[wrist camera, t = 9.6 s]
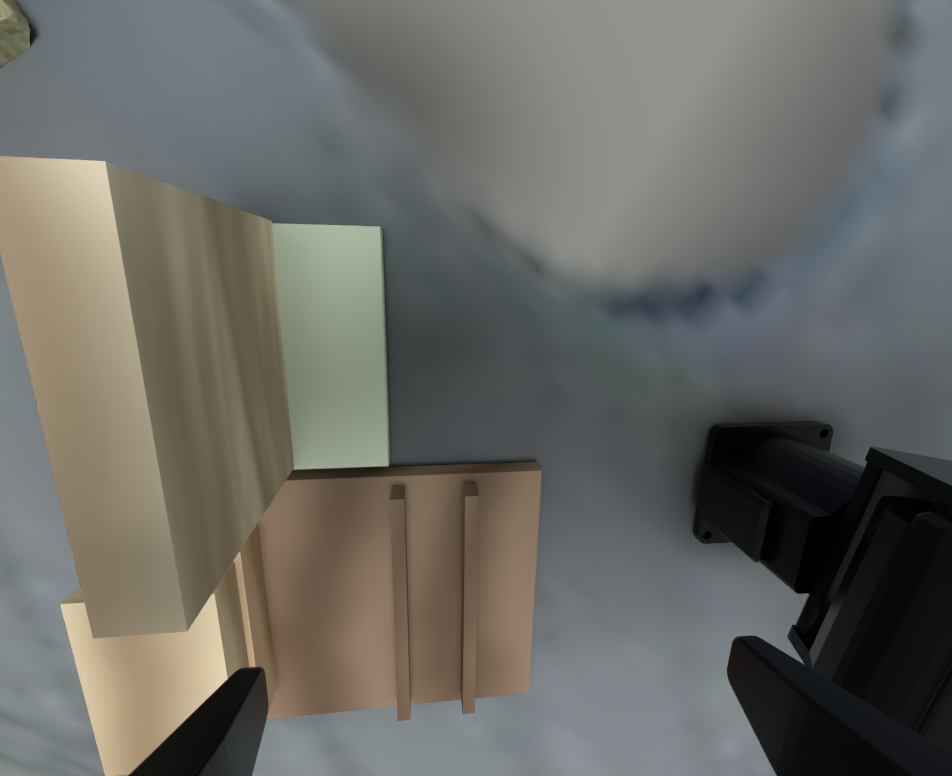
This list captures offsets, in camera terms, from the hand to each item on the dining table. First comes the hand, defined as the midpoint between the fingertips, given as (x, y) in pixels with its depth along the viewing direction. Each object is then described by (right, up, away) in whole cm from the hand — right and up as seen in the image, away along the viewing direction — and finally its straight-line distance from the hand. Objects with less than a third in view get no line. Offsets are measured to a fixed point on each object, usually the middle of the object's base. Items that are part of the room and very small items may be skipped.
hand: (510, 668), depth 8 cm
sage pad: (-10, +7, +10) cm, 16 cm away
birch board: (-9, +7, +9) cm, 15 cm away
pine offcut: (-13, -6, +10) cm, 17 cm away
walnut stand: (-8, -5, +13) cm, 16 cm away
